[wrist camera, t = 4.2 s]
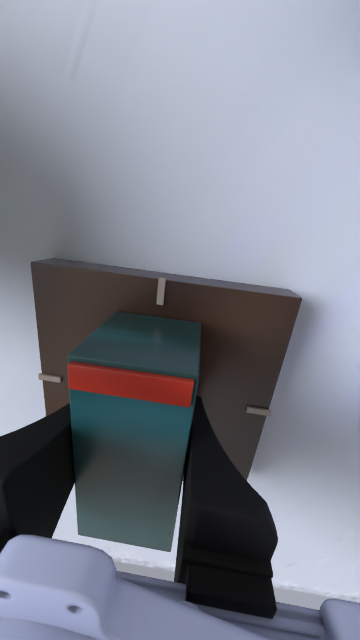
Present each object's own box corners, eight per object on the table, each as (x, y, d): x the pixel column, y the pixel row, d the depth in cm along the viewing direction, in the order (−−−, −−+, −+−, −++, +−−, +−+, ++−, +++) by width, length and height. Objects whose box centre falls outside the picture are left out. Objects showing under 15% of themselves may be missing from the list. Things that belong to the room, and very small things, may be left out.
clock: (291, 287, 14) (306, 297, 12) (240, 467, 19) (245, 495, 17) (51, 256, 14) (25, 259, 12) (64, 436, 19) (47, 460, 17)
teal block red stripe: (180, 460, 16) (169, 559, 11) (113, 449, 16) (75, 541, 11) (201, 322, 13) (199, 379, 8) (116, 310, 13) (62, 358, 8)
